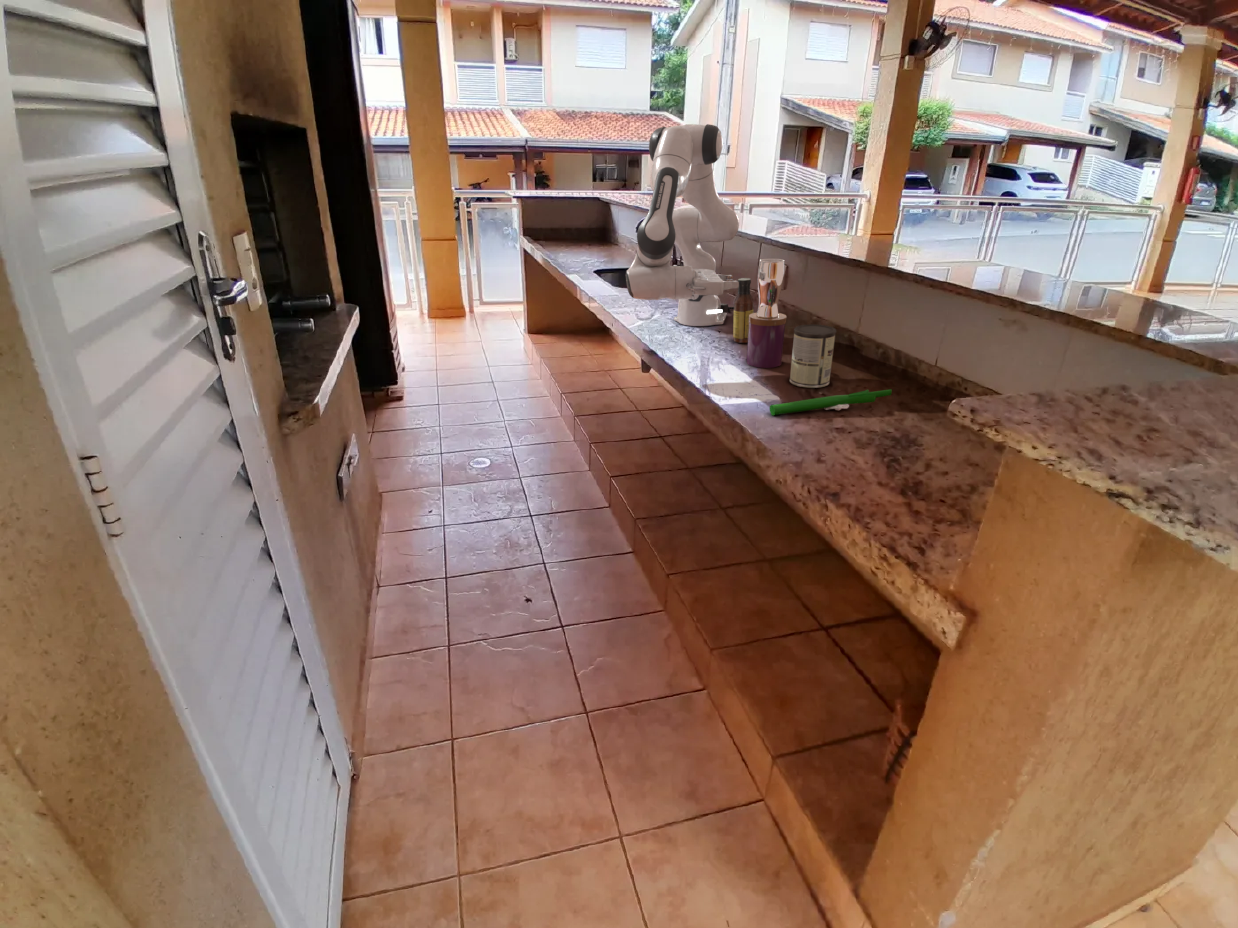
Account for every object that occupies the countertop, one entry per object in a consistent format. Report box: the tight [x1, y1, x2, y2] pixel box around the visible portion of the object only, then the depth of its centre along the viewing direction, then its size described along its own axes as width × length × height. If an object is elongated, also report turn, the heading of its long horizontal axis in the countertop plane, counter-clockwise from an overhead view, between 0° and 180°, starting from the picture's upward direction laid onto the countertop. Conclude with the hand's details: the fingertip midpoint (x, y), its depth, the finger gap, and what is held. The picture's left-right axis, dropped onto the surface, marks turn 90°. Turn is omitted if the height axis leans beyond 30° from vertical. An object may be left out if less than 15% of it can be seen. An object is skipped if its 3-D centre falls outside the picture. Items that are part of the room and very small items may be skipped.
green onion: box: [769, 388, 892, 416], centre depth 144 cm, size 5×3×30 cm
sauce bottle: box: [732, 277, 754, 344], centre depth 196 cm, size 7×6×20 cm
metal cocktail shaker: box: [756, 258, 785, 318], centre depth 169 cm, size 7×7×15 cm
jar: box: [745, 312, 787, 369], centre depth 176 cm, size 10×10×14 cm
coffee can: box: [789, 323, 837, 389], centre depth 159 cm, size 10×10×14 cm
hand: (735, 281), depth 169 cm, fingers open, 8 cm apart
